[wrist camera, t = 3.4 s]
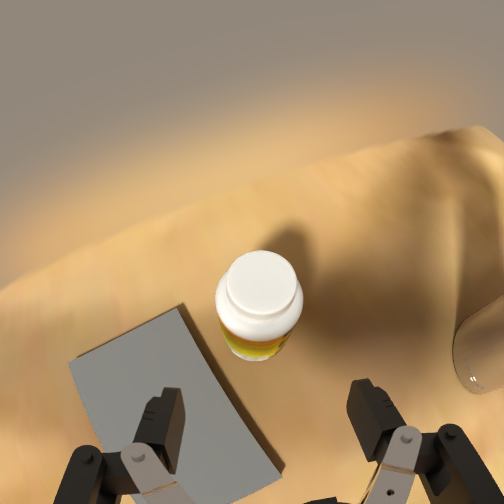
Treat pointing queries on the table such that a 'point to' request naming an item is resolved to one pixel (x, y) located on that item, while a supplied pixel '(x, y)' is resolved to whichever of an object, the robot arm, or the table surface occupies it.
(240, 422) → the mat
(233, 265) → the supplement bottle
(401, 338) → the table surface
